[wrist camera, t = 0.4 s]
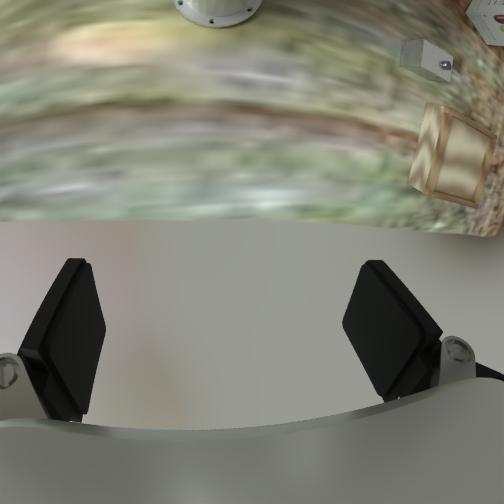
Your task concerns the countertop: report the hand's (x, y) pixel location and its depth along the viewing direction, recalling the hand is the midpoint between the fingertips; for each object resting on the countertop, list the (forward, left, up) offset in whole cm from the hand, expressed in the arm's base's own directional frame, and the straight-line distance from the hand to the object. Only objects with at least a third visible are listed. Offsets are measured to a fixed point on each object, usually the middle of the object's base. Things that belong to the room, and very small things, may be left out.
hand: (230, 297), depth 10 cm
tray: (-6, +44, -36) cm, 57 cm away
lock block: (-21, +32, -36) cm, 53 cm away
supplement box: (-41, +50, -36) cm, 74 cm away
